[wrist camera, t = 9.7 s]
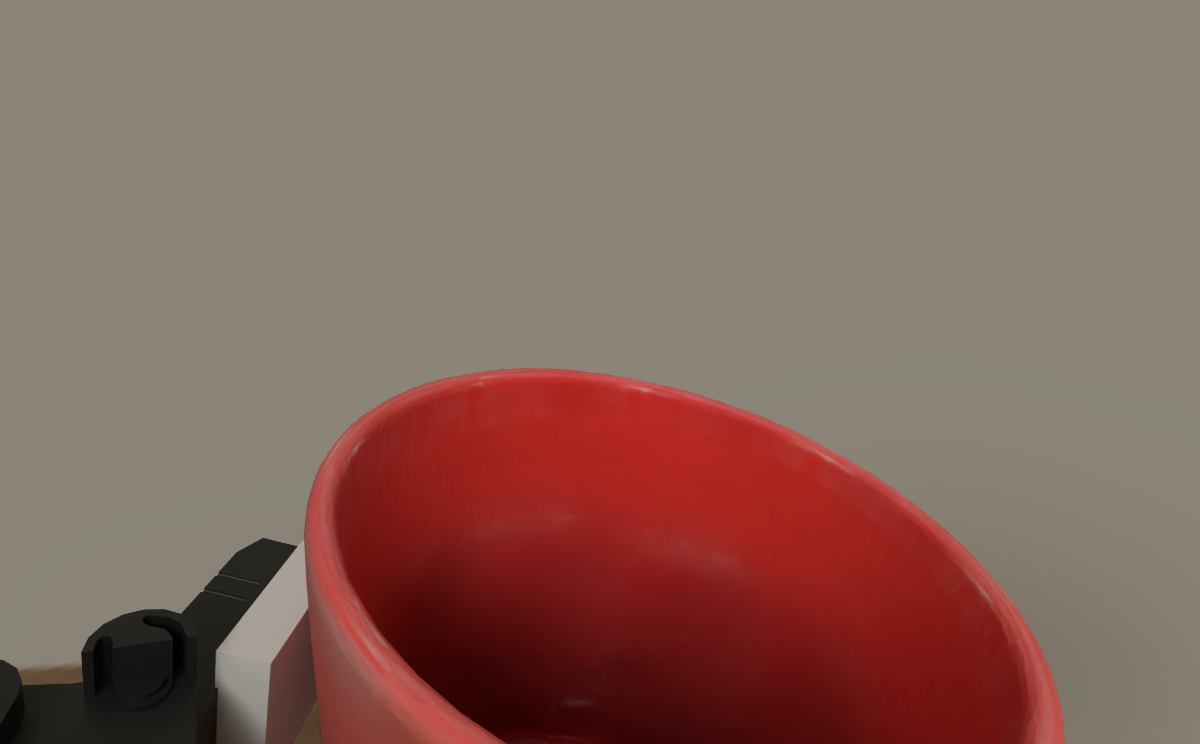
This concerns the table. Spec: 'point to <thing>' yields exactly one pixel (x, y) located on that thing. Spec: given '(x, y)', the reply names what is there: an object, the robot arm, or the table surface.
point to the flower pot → (642, 581)
